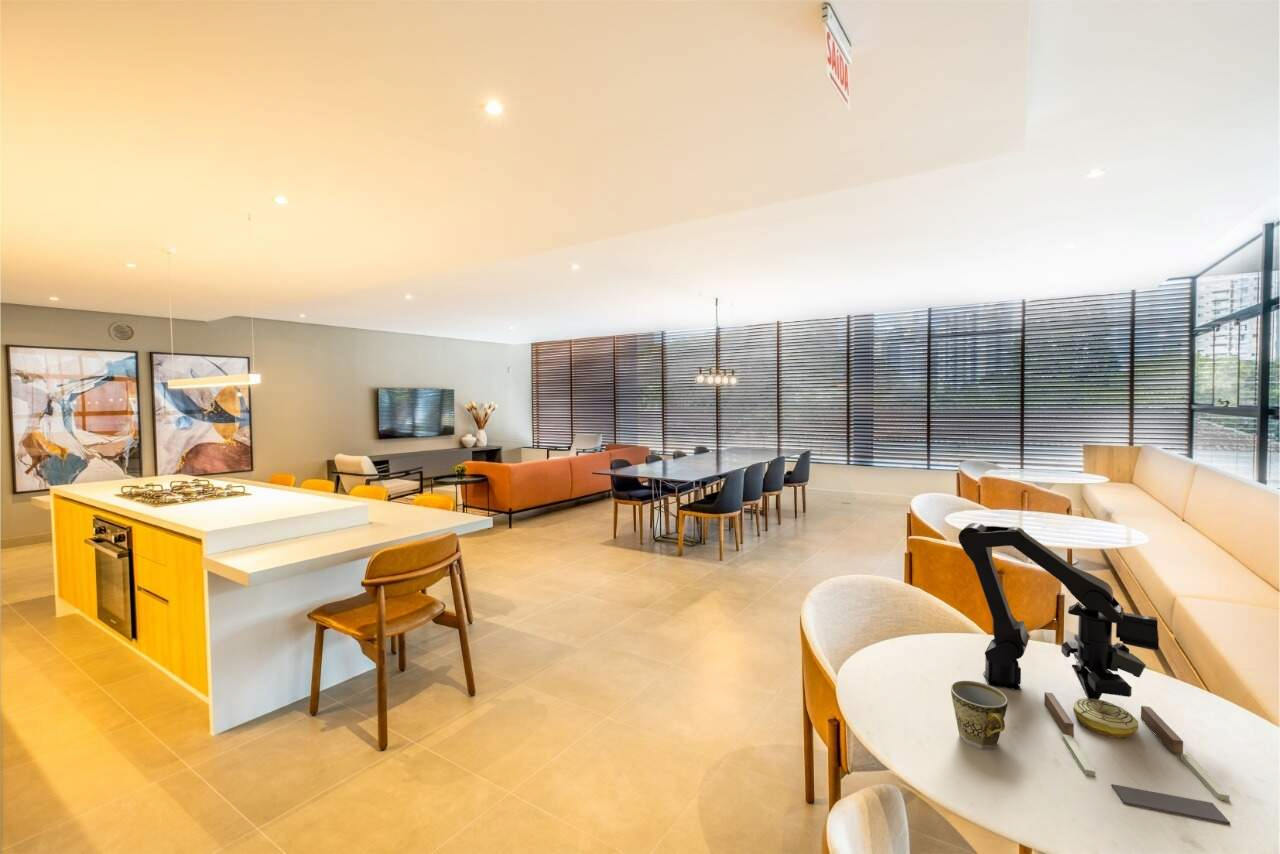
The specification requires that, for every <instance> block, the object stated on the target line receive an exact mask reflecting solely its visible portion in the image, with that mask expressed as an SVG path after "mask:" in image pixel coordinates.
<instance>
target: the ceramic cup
mask: <svg viewBox="0 0 1280 854" xmlns="http://www.w3.org/2000/svg"><path fill="white" fill-rule="evenodd" d="M950 691H951V692H950V693H951V700H952V703H953V708H954V714H955V720H956V723H957V724H956V725H957V732H958V735H959V737H960V738H962V740H963V741H964V742H965V744H967V745H970V746H972V747H974V748H977V749H980V750H982V751H983V750H994V749H995V748H996V746H997V745H998V743H999V739H1000V735H1001V732H1003V731H1004V730H1005V727H1006V725H1005V720H1004V719H1005V717H1006V713H1007V709H1008V704H1009V700H1008V697H1007V695H1005V693H1004V692H1002V691H1001V690H1000V689H998V688H997V687H994V686H990V685H989V684H988V683H987V684H986V683H984V682H981V681H975V680H958V681H955V682H953V683H952V684H951V685H950Z"/></svg>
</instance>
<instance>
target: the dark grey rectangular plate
mask: <svg viewBox="0 0 1280 854" xmlns="http://www.w3.org/2000/svg"><path fill="white" fill-rule="evenodd" d="M1111 787H1112V789H1113V791H1114V792H1115V793H1116V795H1117V797H1119V800H1120V801H1121V802H1122V804H1123V805H1128V806H1132V807H1138V808H1142V809H1147V810H1153V811H1158V812H1163V813H1167V814H1168V813H1169V814H1173V815H1179V816H1183V817H1188V818H1194V819H1197V820H1205V821H1209V822H1214V823H1219V824H1224V825H1229V826H1230V825H1231V822H1230V821H1229V820H1228V818H1227V817H1226V816H1225V815H1224V814H1223V813H1222V811H1221V810H1219V809H1218V807H1217V806H1216V805H1215V804H1214V803H1213V802H1211V801H1205V800H1201V799H1200V800H1199V799H1195V798H1194V799H1193V798H1188V797H1184V796H1178V795H1173V794H1167V793H1163V792H1162V793H1161V792H1158V791H1157V792H1156V791H1152V790H1151V791H1149V790H1147V789H1139V788H1135V787H1130V786H1126V785H1125V786H1124V785H1120V784H1115V783H1114V784H1113V783H1111Z"/></svg>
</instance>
